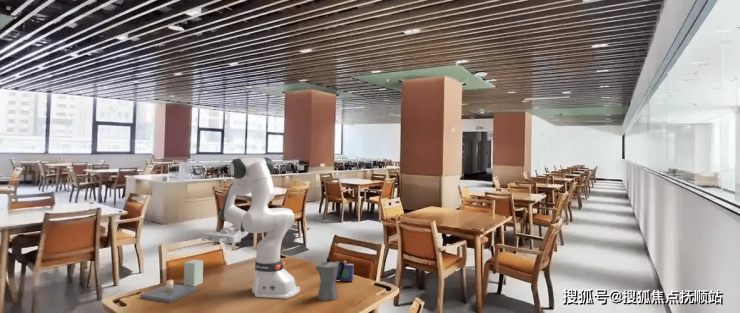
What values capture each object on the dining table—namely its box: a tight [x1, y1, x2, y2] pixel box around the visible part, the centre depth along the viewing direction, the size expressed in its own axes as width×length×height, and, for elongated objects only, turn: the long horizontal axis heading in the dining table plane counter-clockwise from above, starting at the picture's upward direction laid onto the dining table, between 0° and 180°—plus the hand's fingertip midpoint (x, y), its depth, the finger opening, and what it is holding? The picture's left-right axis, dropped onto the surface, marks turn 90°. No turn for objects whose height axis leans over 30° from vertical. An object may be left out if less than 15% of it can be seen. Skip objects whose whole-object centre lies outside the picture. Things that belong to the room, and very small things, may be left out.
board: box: [139, 279, 198, 304], centre depth 171 cm, size 16×16×6 cm
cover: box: [183, 259, 204, 287], centre depth 185 cm, size 6×6×11 cm
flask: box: [335, 260, 355, 281], centre depth 194 cm, size 9×3×11 cm, turn 88°
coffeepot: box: [314, 257, 345, 302], centre depth 172 cm, size 15×9×18 cm, turn 127°
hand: (210, 240), depth 197 cm, fingers open, 8 cm apart
